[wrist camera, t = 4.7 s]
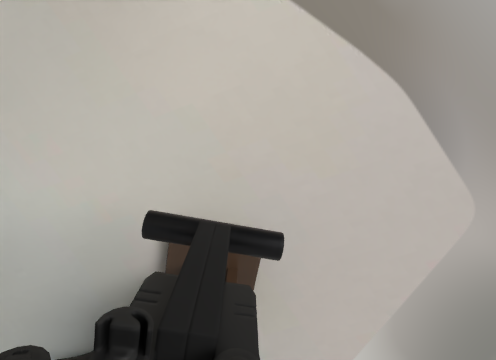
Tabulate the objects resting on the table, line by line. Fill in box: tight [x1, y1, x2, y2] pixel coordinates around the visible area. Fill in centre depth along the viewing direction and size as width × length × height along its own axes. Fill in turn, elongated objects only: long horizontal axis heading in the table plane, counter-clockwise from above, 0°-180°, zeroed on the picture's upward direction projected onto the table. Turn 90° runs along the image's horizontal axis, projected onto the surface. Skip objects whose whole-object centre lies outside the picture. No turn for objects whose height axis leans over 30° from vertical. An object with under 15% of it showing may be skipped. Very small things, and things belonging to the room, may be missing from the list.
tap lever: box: [142, 210, 284, 261], centre depth 16 cm, size 13×7×2 cm, turn 169°
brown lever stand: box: [165, 243, 261, 290], centre depth 22 cm, size 12×9×14 cm
